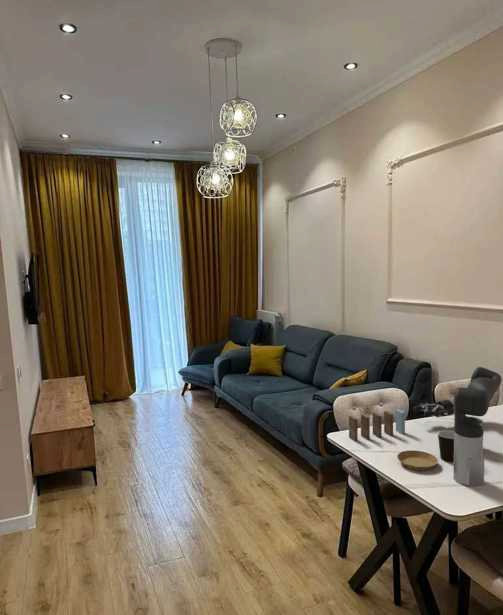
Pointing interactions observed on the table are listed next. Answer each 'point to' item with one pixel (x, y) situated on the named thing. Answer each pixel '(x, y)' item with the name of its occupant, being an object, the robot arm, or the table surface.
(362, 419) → the domino
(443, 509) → the table surface
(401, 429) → the domino
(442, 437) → the coffee mug
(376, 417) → the domino
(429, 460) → the plant saucer
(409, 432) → the table surface
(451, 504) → the table surface
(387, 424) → the domino
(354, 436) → the domino
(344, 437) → the table surface
